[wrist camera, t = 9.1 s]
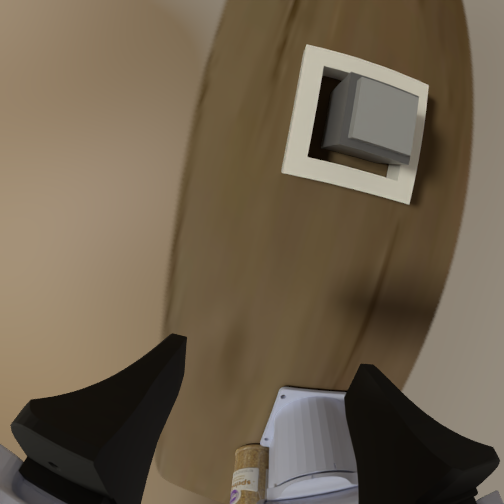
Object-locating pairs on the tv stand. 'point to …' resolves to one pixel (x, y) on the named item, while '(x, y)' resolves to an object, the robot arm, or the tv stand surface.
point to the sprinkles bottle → (250, 474)
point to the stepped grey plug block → (370, 120)
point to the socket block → (303, 116)
